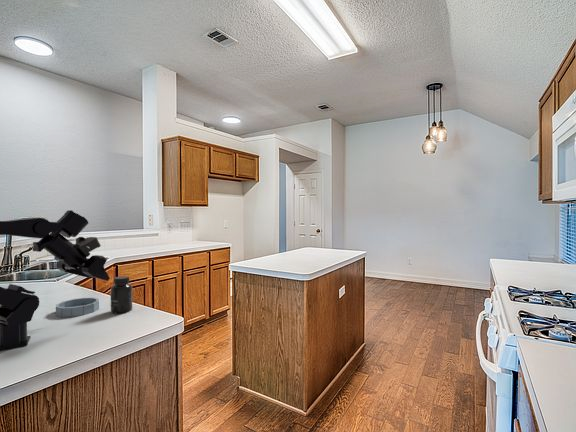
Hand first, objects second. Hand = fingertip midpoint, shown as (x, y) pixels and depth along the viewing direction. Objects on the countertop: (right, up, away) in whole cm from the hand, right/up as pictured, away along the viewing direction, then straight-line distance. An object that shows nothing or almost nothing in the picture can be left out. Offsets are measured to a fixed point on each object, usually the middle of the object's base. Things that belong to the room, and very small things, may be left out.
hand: (100, 278), depth 104 cm
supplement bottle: (+4, -13, +7) cm, 15 cm away
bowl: (-12, -13, +7) cm, 19 cm away
